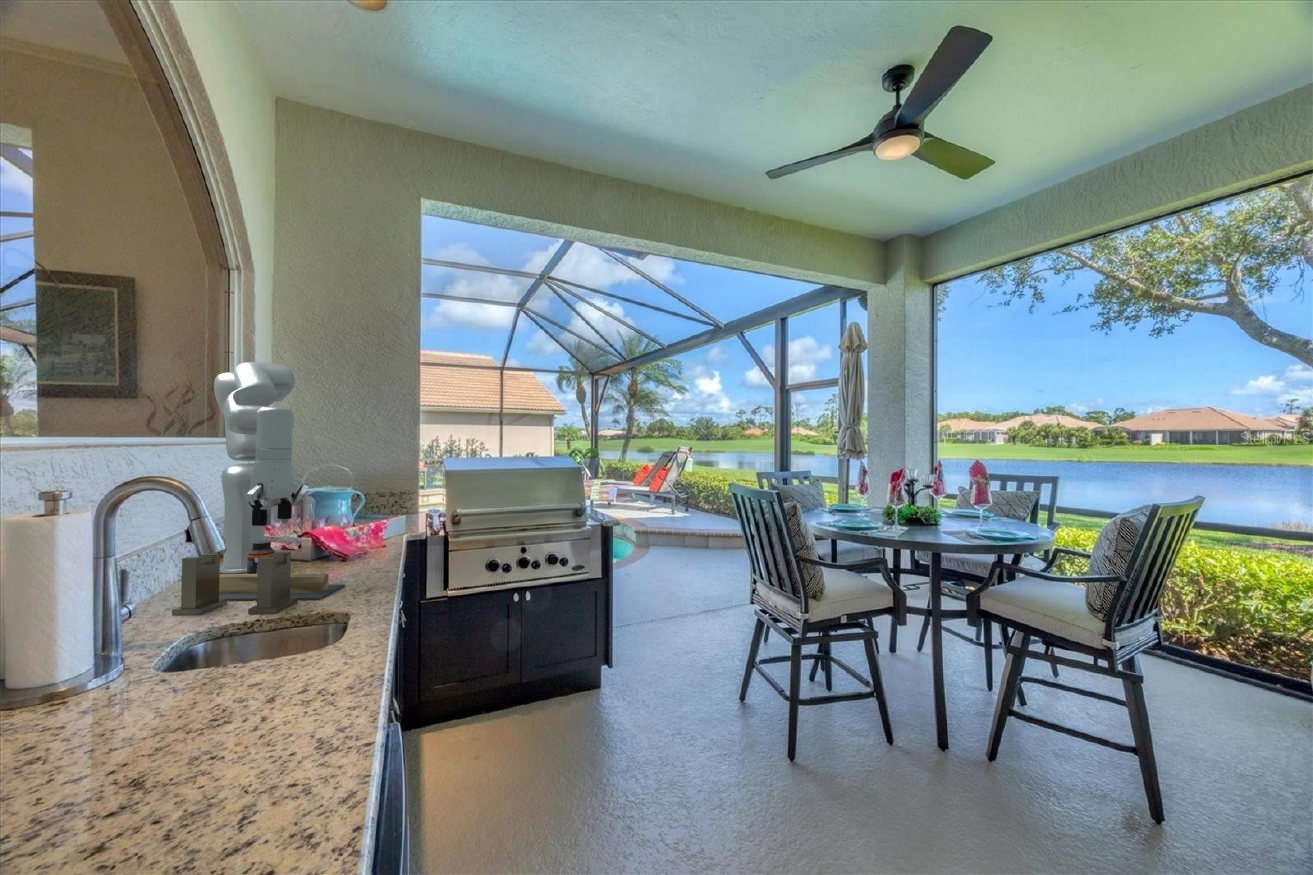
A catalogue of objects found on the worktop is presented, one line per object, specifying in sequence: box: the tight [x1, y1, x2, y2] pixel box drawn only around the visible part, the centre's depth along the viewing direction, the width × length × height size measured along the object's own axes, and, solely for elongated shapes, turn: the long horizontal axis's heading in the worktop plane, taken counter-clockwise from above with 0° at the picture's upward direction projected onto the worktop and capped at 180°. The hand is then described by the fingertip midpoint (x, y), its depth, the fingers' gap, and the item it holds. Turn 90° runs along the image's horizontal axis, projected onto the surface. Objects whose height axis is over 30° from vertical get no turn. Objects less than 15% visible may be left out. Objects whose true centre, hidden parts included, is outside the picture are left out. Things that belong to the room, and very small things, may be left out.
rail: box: [219, 573, 329, 593], centre depth 132 cm, size 3×26×4 cm, turn 95°
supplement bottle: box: [246, 540, 276, 574], centre depth 141 cm, size 6×6×11 cm
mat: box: [219, 583, 346, 602], centre depth 132 cm, size 12×30×1 cm, turn 95°
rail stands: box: [171, 551, 299, 616], centre depth 120 cm, size 8×22×12 cm, turn 95°
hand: (272, 522), depth 133 cm, fingers open, 9 cm apart
